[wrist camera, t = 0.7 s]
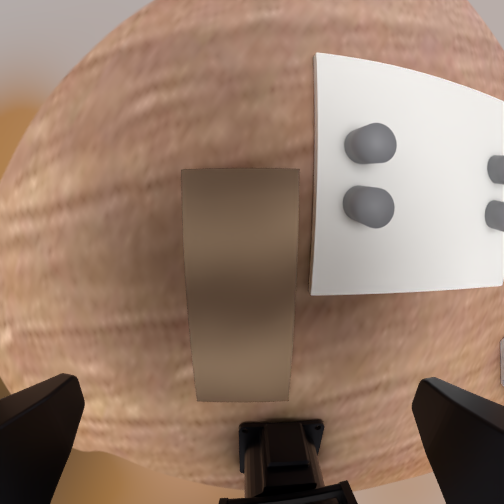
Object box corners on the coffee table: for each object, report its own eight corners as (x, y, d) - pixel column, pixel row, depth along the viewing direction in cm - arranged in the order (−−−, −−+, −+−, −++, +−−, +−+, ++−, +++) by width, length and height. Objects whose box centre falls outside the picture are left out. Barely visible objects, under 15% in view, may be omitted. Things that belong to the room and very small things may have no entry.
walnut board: (280, 358, 20) (288, 400, 16) (205, 358, 20) (197, 401, 16) (285, 170, 17) (299, 168, 13) (196, 170, 17) (181, 169, 13)
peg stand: (496, 282, 19) (522, 296, 16) (308, 290, 19) (320, 313, 16) (506, 106, 16) (534, 102, 13) (313, 57, 15) (327, 35, 12)
